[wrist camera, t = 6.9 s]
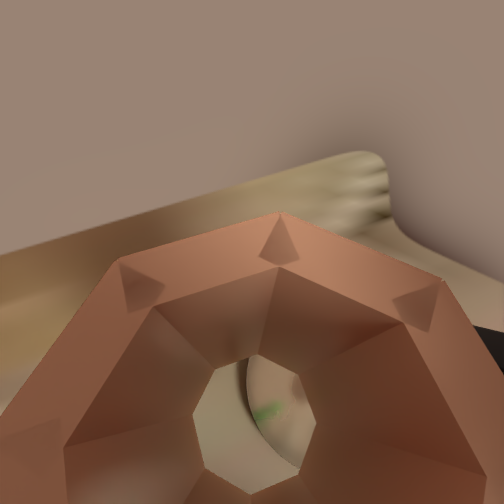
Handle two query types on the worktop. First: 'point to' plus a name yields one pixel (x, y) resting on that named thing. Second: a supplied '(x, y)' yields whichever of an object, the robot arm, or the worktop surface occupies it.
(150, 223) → the worktop surface
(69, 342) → the terracotta pot
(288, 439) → the silver pot lid
